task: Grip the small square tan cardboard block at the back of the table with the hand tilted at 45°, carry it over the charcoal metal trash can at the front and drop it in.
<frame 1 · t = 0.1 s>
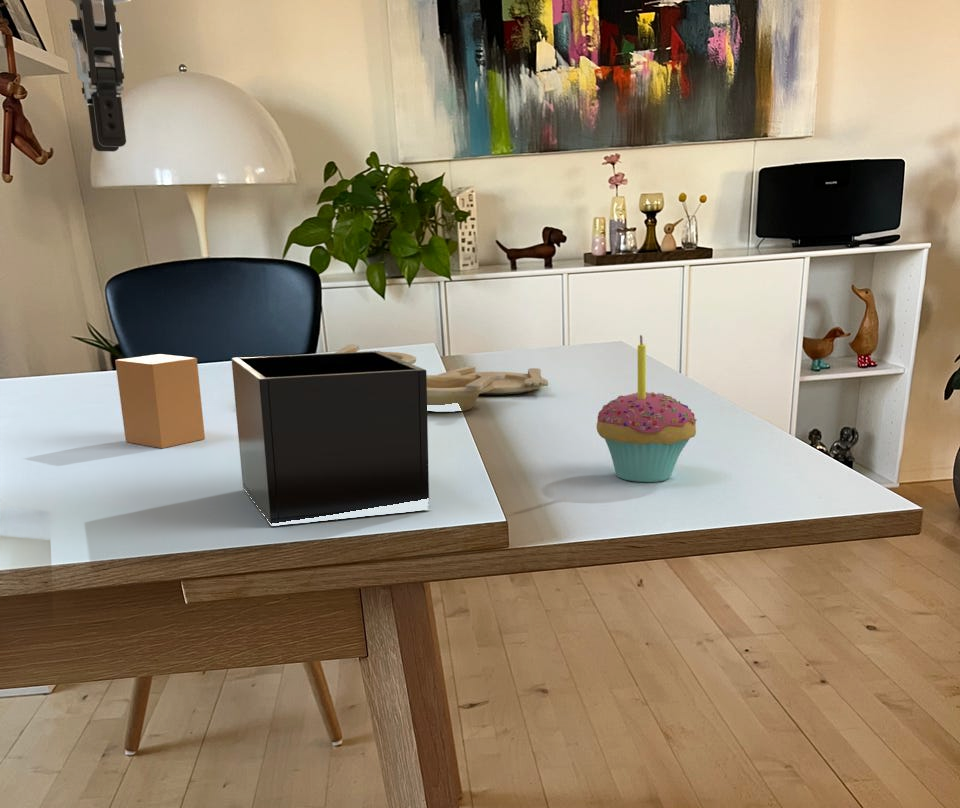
hand: (109, 148, 91), 26 cm above the table, tool pointing down, fingers open, 8 cm apart
trash can: (332, 499, 83), on the table
tableware set: (405, 396, 131), on the table
tan cardboard block: (165, 440, 105), on the table
cupcake: (641, 477, 91), on the table
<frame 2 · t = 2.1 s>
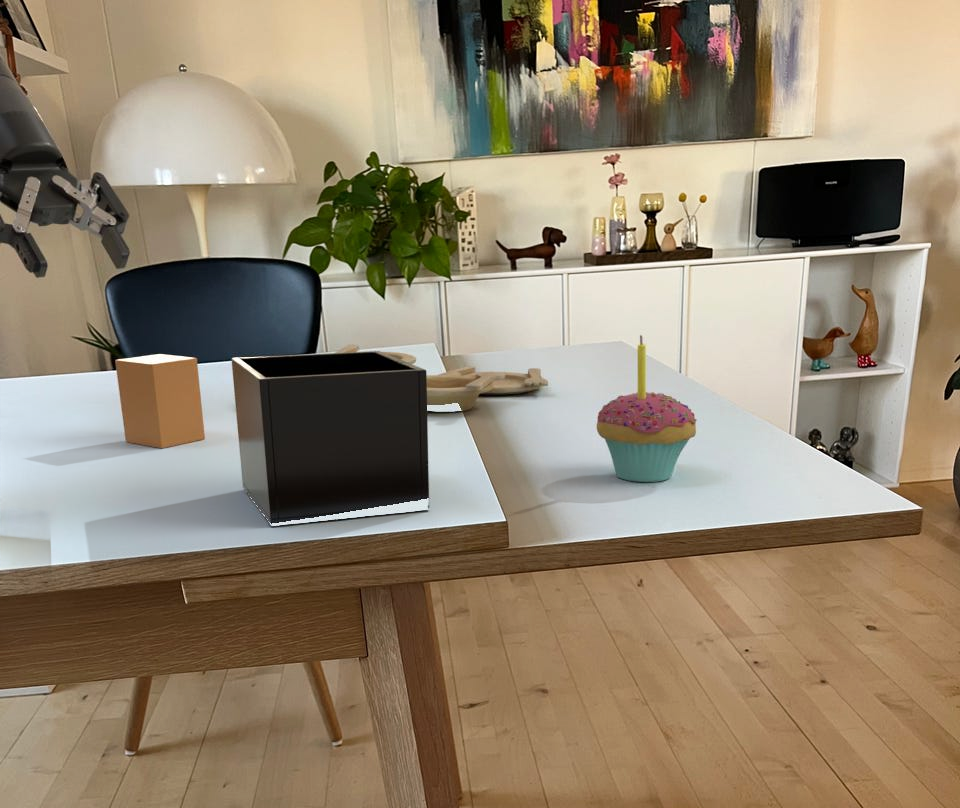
hand: (84, 267, 104), 16 cm above the table, tool tilted 40°, fingers open, 8 cm apart
nothing on the table moved.
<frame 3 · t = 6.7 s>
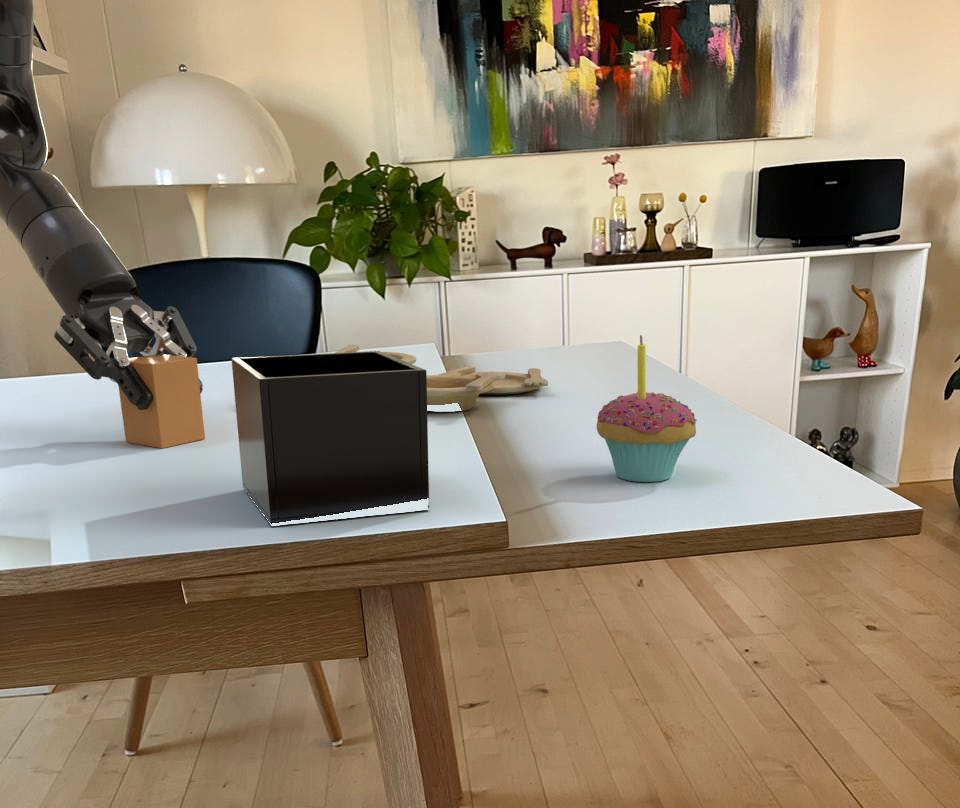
hand: (172, 399, 102), 4 cm above the table, tool tilted 45°, fingers closed on tan cardboard block, 5 cm apart
tan cardboard block: (165, 440, 105), on the table, touching gripper
everything else where it was.
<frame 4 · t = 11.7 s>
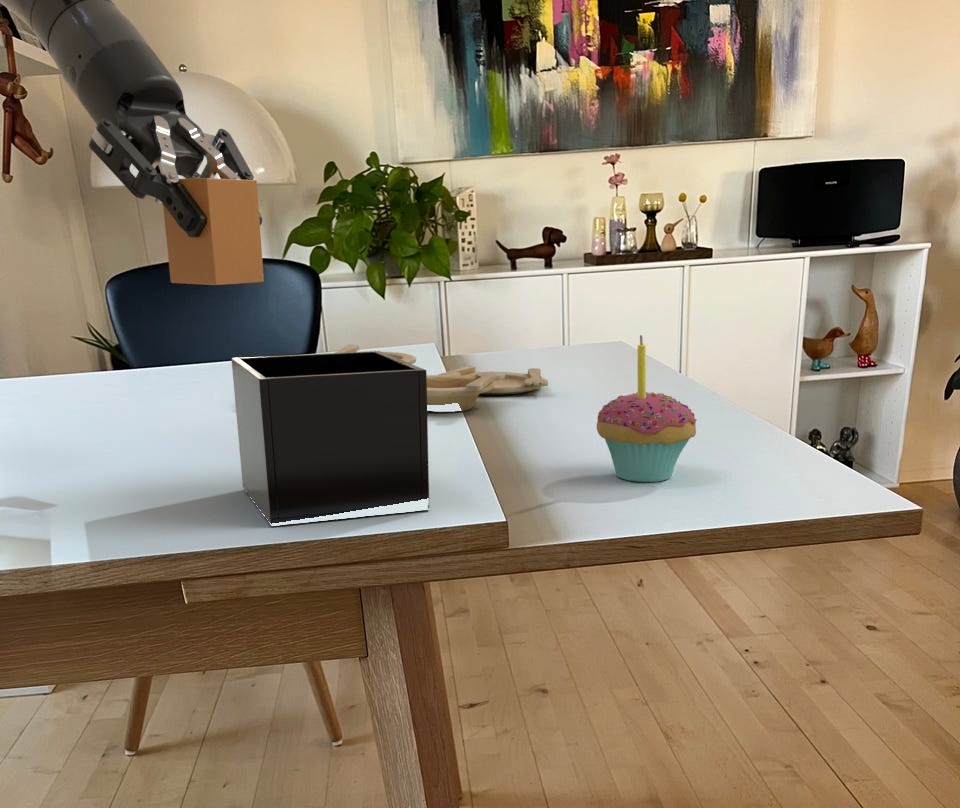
hand: (228, 229, 86), 20 cm above the table, tool tilted 45°, fingers closed on tan cardboard block, 5 cm apart
tan cardboard block: (217, 282, 89), point 16 cm above the table, touching gripper
everything else where it was.
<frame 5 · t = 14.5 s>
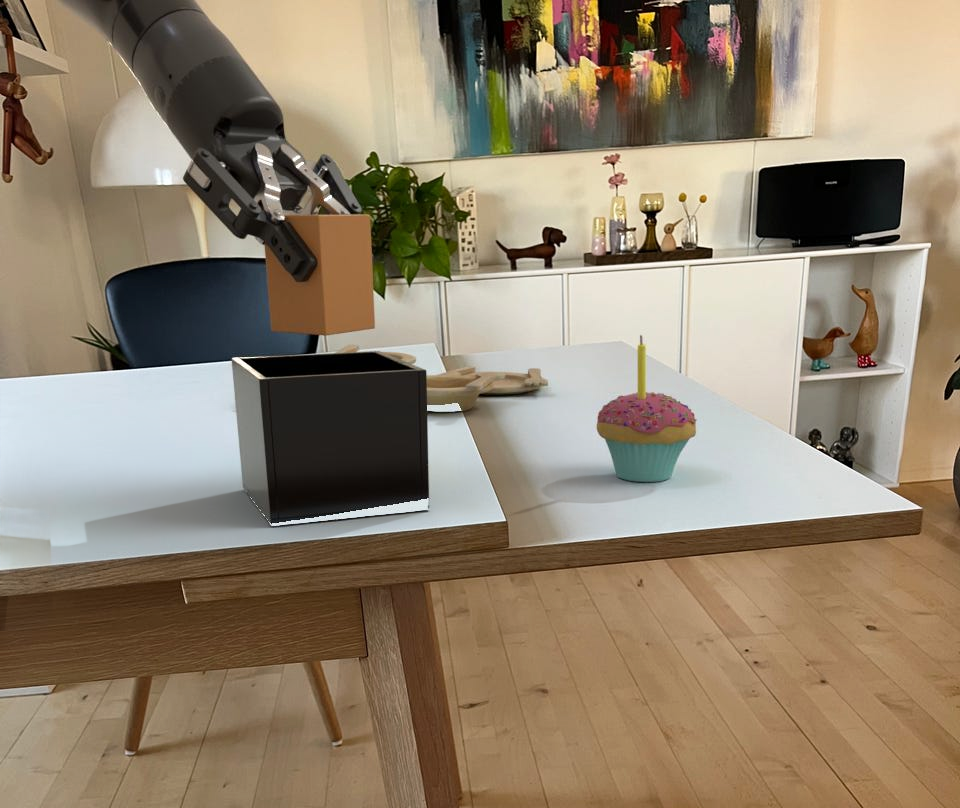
hand: (338, 270, 76), 17 cm above the table, tool tilted 45°, fingers closed on tan cardboard block, 5 cm apart
tan cardboard block: (323, 329, 78), point 13 cm above the table, touching gripper
everything else where it was.
when the fingers open (12 cm above the table, at t = 16.7 s): tan cardboard block drops 7 cm, resting on trash can.
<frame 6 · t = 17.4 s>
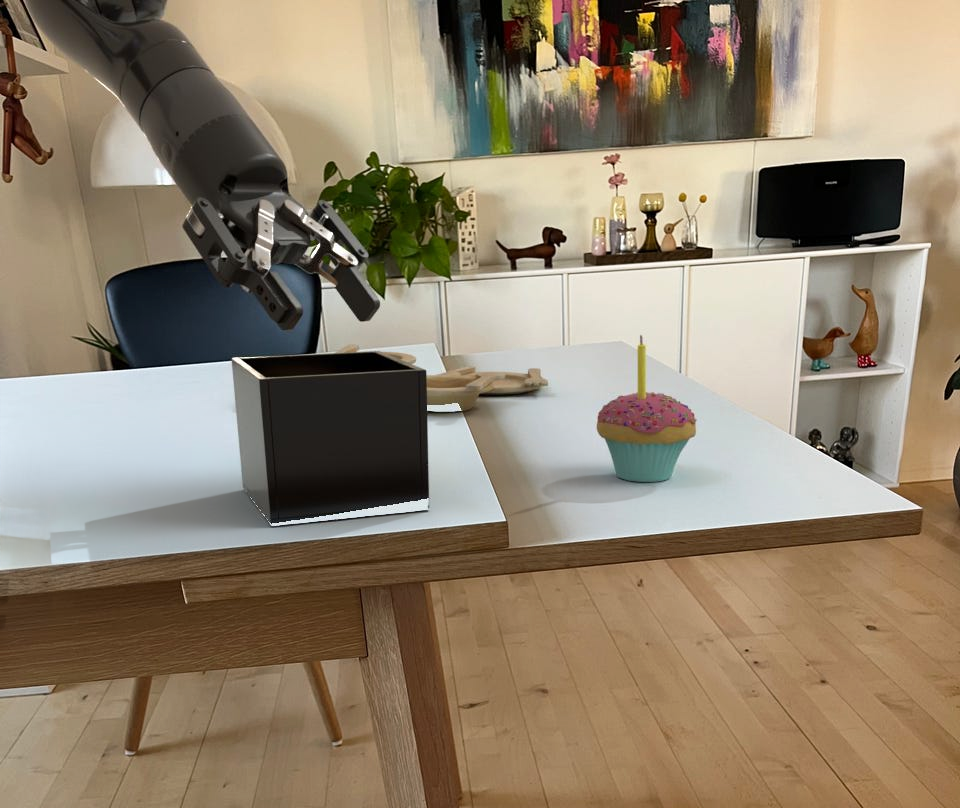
hand: (335, 318, 77), 14 cm above the table, tool tilted 45°, fingers open, 8 cm apart
tan cardboard block: (330, 492, 83), point 1 cm above the table, touching trash can
everything else where it was.
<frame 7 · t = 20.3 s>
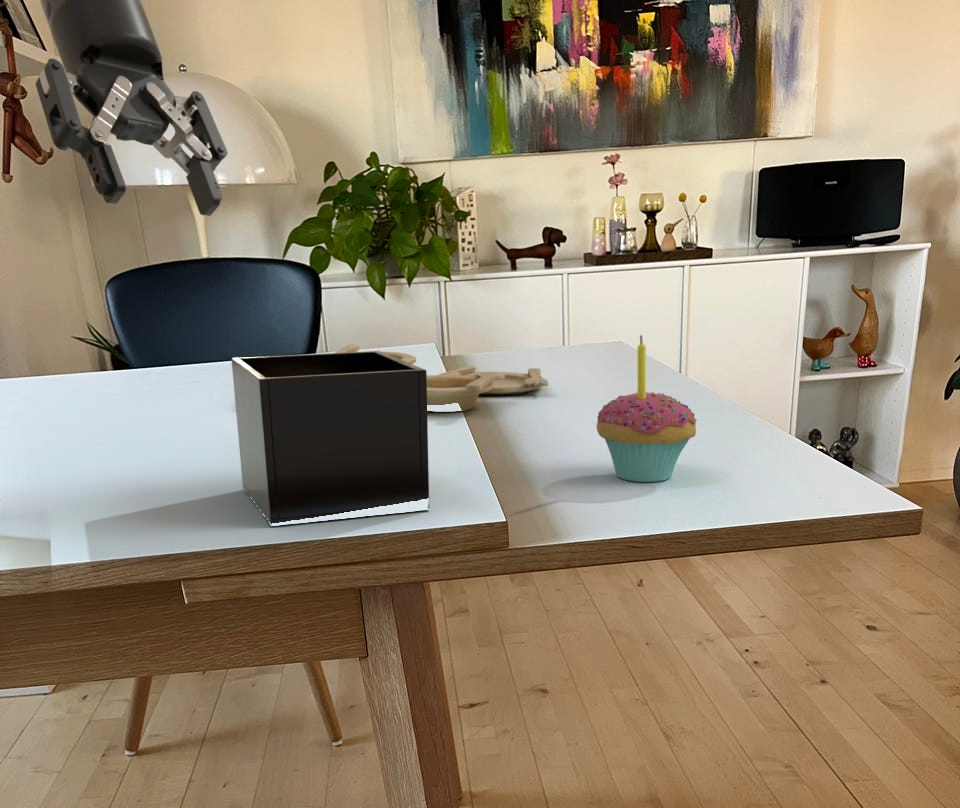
hand: (166, 204, 82), 22 cm above the table, tool tilted 35°, fingers open, 8 cm apart
nothing on the table moved.
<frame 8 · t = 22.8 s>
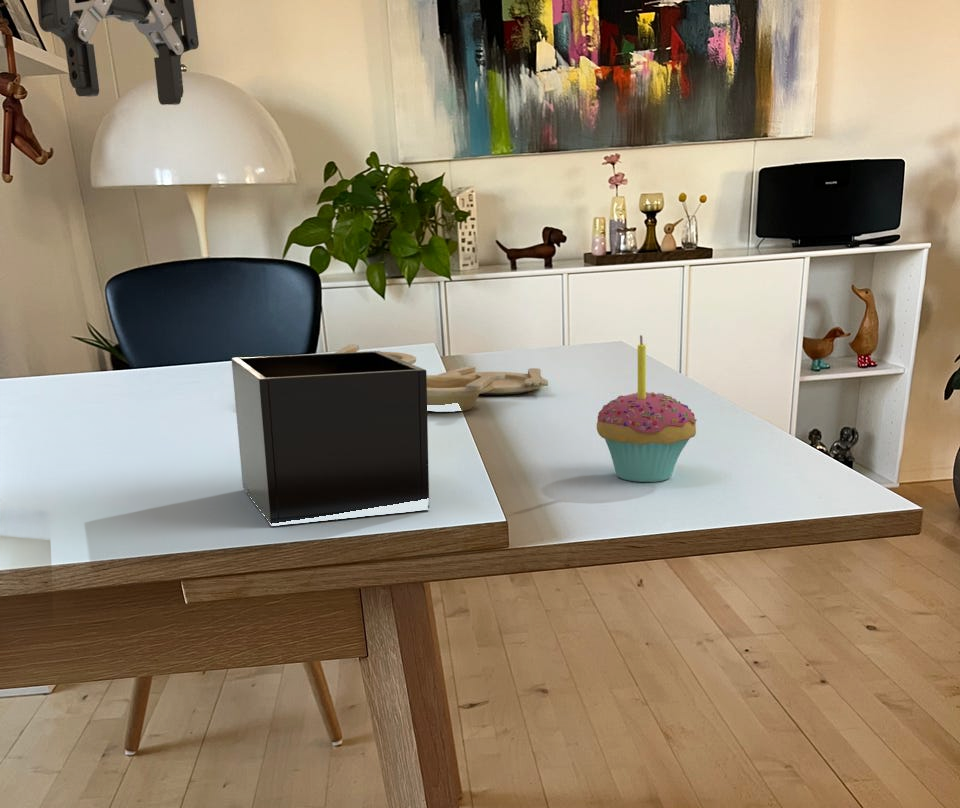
hand: (130, 100, 89), 30 cm above the table, tool pointing down, fingers open, 8 cm apart
nothing on the table moved.
at the end: tan cardboard block inside the target area in the trash can (0.2 cm from its centre), point 0.6 cm above the trash can's base; the gripper is holding nothing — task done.
